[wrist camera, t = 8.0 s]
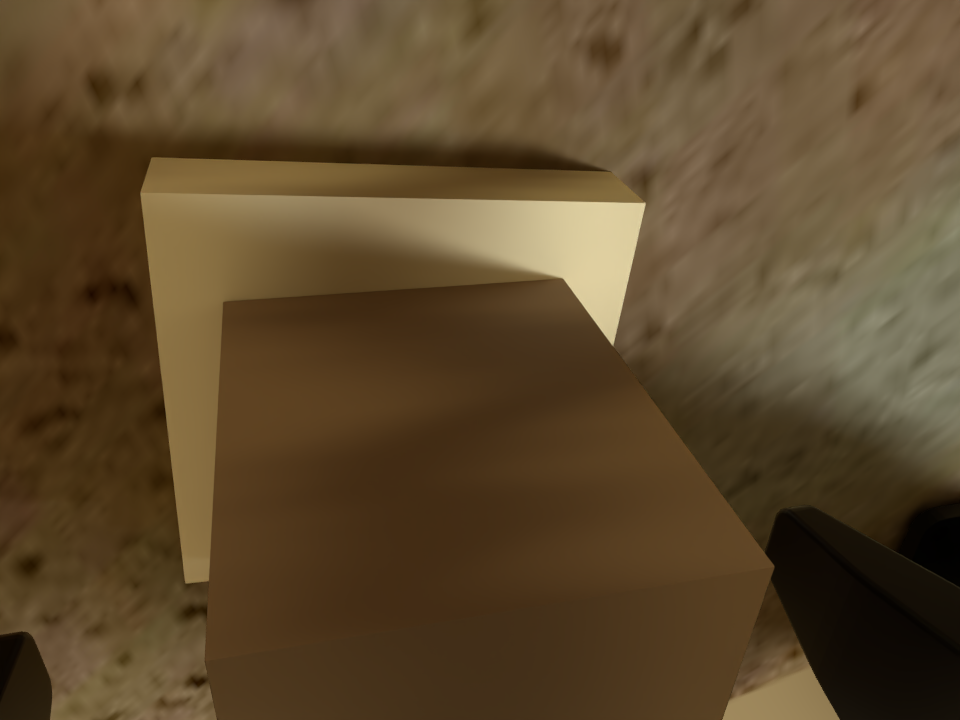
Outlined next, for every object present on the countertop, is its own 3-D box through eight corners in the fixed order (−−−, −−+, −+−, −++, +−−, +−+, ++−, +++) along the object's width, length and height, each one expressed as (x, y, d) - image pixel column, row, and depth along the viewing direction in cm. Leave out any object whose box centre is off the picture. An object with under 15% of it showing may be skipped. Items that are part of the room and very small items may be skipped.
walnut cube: (562, 278, 12) (774, 566, 7) (535, 520, 15) (677, 849, 10) (223, 301, 11) (205, 661, 6) (258, 559, 14) (265, 953, 9)
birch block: (598, 160, 14) (645, 202, 12) (537, 479, 17) (567, 545, 15) (155, 144, 12) (139, 193, 10) (192, 505, 15) (185, 583, 14)
